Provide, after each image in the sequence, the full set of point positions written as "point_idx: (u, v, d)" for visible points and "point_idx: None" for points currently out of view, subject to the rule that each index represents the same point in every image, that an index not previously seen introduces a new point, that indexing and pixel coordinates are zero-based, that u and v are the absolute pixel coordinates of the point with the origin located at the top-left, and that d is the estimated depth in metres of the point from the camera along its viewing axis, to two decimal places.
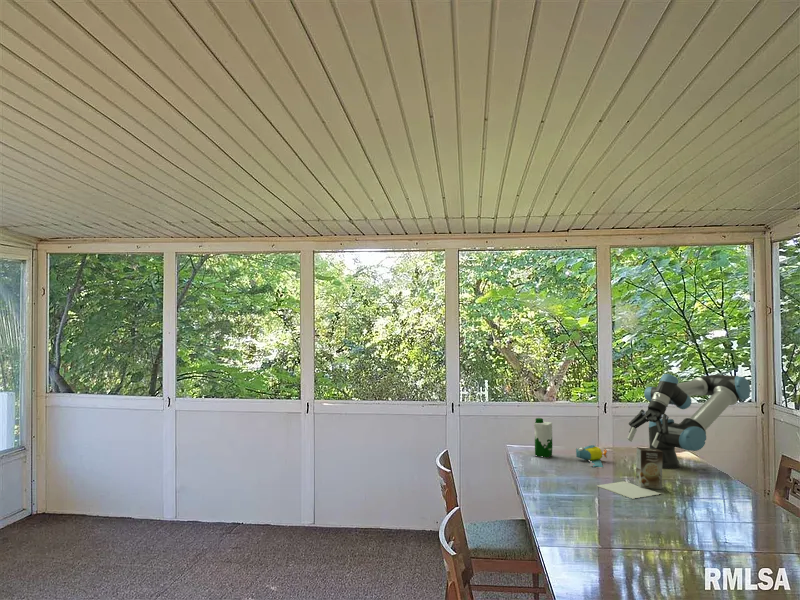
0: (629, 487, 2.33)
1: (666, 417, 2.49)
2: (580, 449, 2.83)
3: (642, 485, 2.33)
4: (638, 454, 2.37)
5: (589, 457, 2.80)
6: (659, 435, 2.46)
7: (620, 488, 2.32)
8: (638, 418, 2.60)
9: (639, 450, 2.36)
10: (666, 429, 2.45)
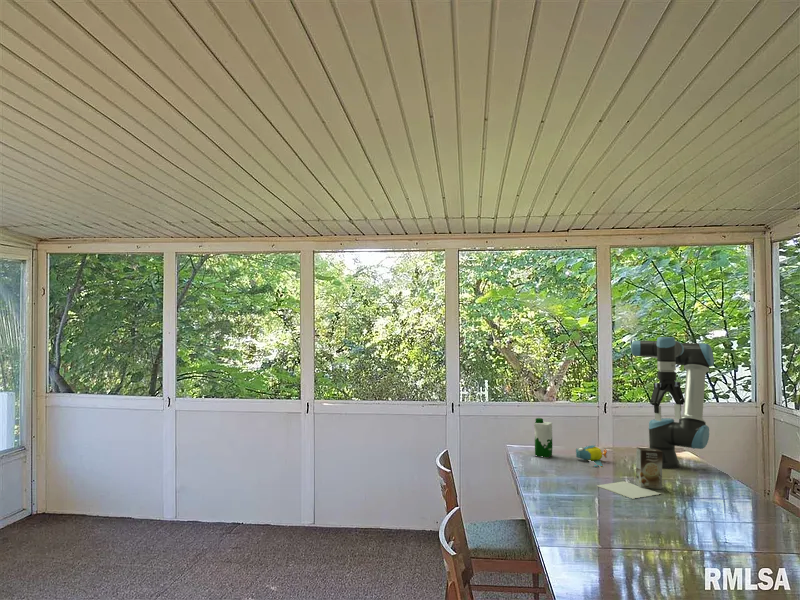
0: (629, 487, 2.33)
1: None
2: (580, 449, 2.83)
3: (642, 485, 2.33)
4: (638, 454, 2.37)
5: (589, 457, 2.80)
6: None
7: (620, 488, 2.32)
8: None
9: (639, 450, 2.37)
10: None
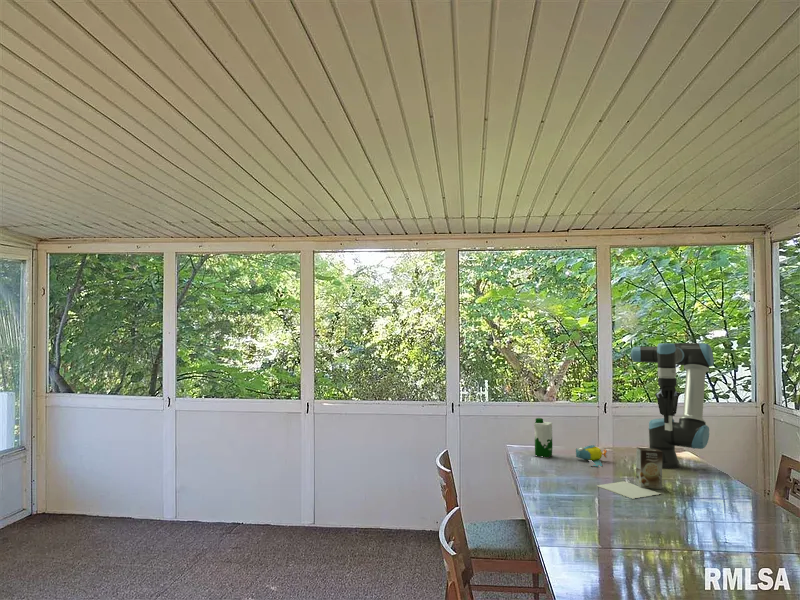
0: (629, 487, 2.33)
1: None
2: (580, 449, 2.83)
3: (642, 485, 2.33)
4: (638, 454, 2.37)
5: (589, 457, 2.81)
6: None
7: (620, 488, 2.32)
8: None
9: (639, 450, 2.37)
10: None
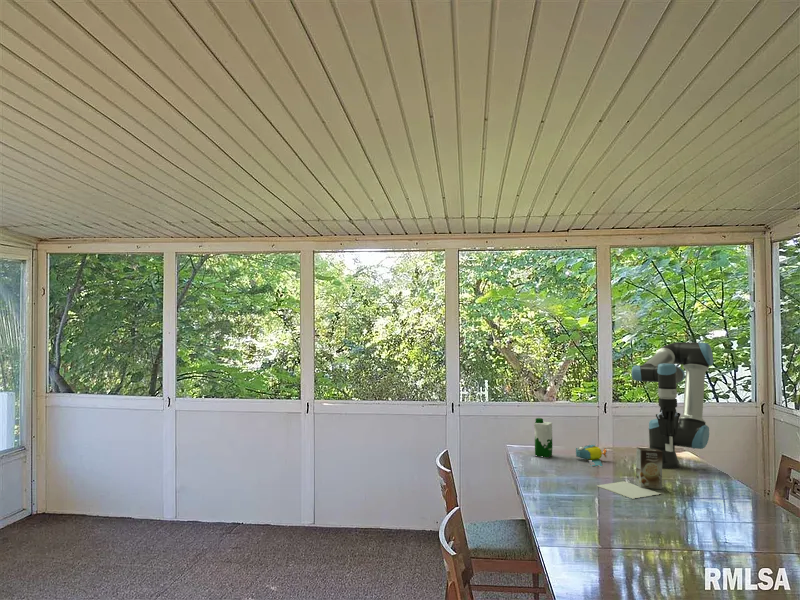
0: (629, 487, 2.33)
1: None
2: (580, 449, 2.84)
3: (642, 485, 2.33)
4: (638, 454, 2.37)
5: (589, 456, 2.81)
6: None
7: (620, 488, 2.32)
8: None
9: (639, 450, 2.37)
10: None
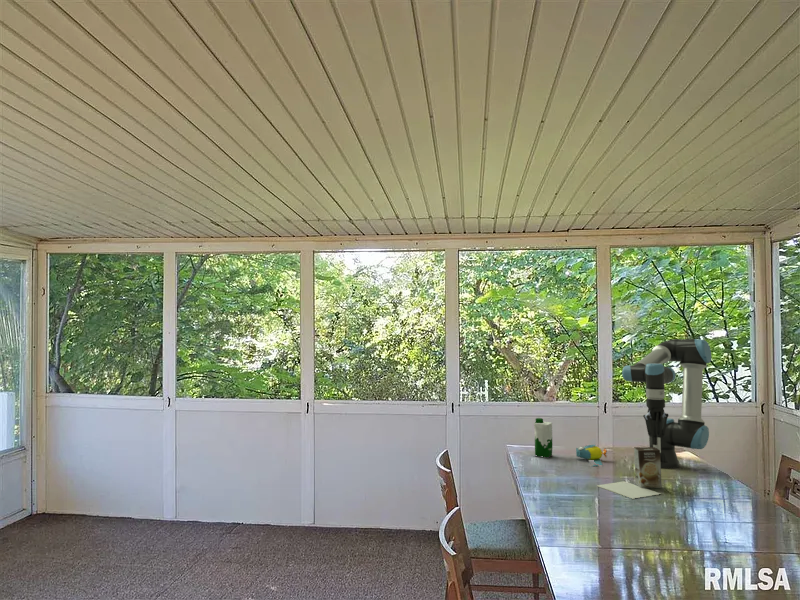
0: (629, 487, 2.33)
1: None
2: (580, 448, 2.85)
3: (642, 485, 2.33)
4: (636, 454, 2.37)
5: (589, 456, 2.82)
6: (660, 439, 2.38)
7: (620, 488, 2.32)
8: None
9: (636, 450, 2.36)
10: None
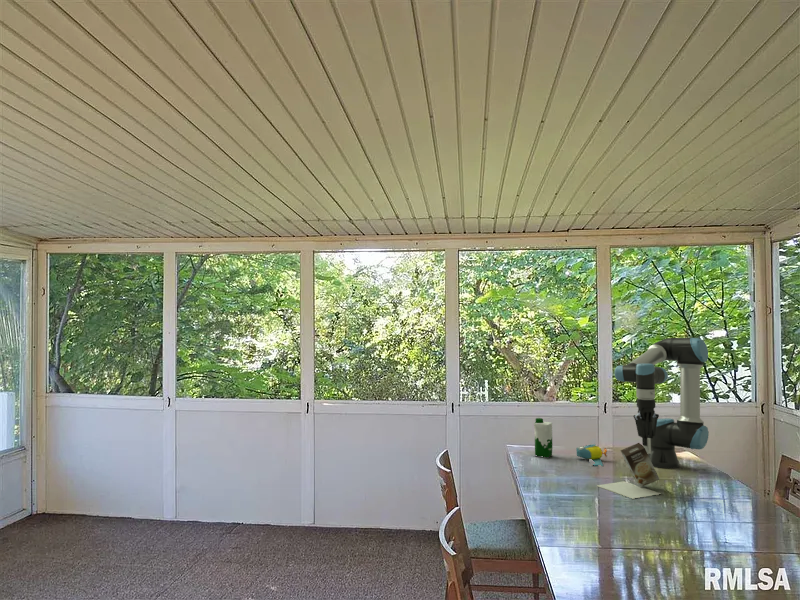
0: (629, 487, 2.33)
1: None
2: (580, 448, 2.85)
3: (641, 485, 2.33)
4: (624, 458, 2.35)
5: (589, 456, 2.82)
6: None
7: (620, 488, 2.32)
8: None
9: (624, 455, 2.34)
10: None
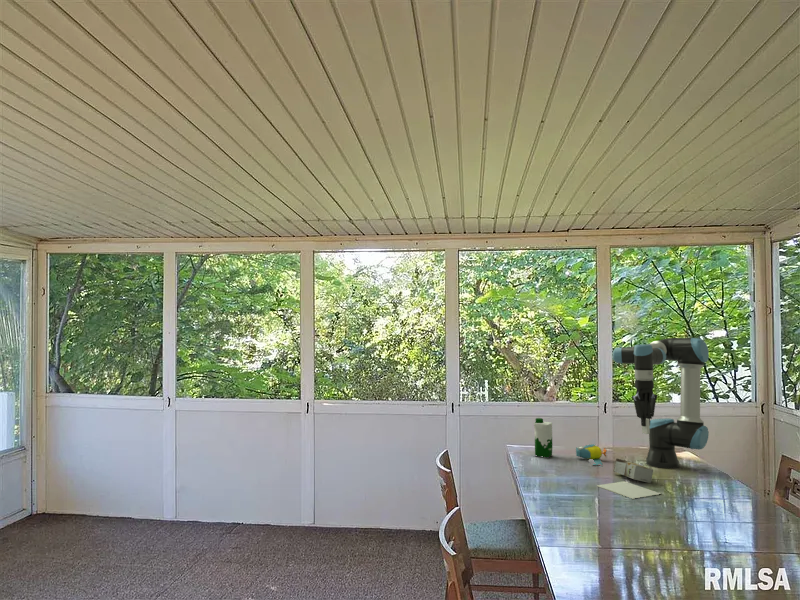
0: (629, 487, 2.33)
1: None
2: (580, 448, 2.86)
3: (636, 465, 2.42)
4: (617, 466, 2.54)
5: (589, 456, 2.83)
6: (649, 420, 2.37)
7: (620, 488, 2.32)
8: None
9: (615, 464, 2.56)
10: None
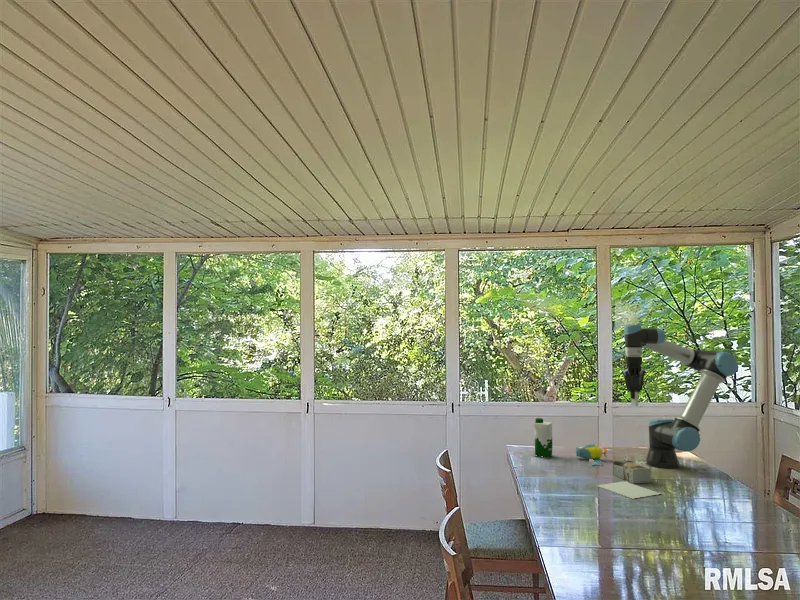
0: (629, 487, 2.33)
1: None
2: (580, 448, 2.86)
3: (633, 469, 2.41)
4: (616, 470, 2.53)
5: (589, 456, 2.83)
6: None
7: (620, 488, 2.32)
8: None
9: (614, 467, 2.55)
10: None
